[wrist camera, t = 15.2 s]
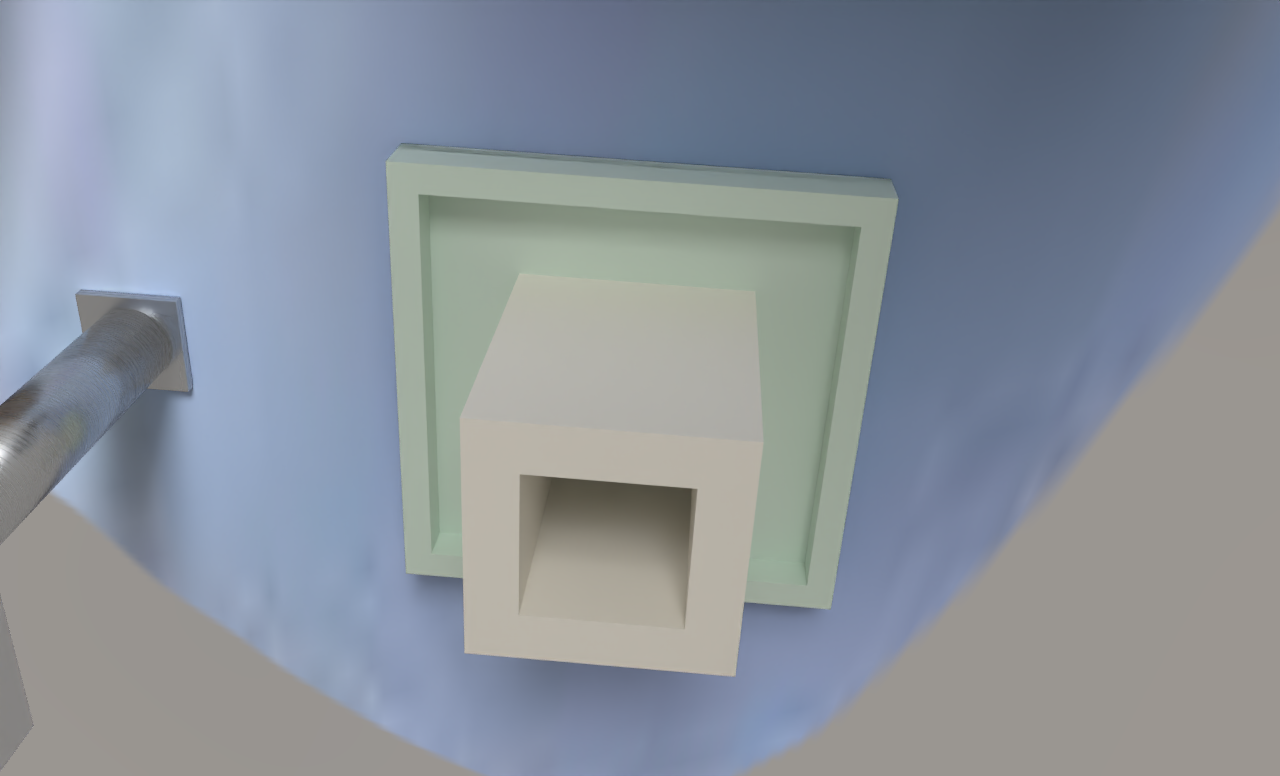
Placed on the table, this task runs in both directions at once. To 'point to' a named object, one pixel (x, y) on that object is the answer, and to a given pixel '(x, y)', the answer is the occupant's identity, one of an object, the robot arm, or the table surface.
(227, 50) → the table surface
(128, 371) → the grey metal cylinder
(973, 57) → the table surface
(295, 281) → the table surface
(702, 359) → the hollow block
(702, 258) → the tray
